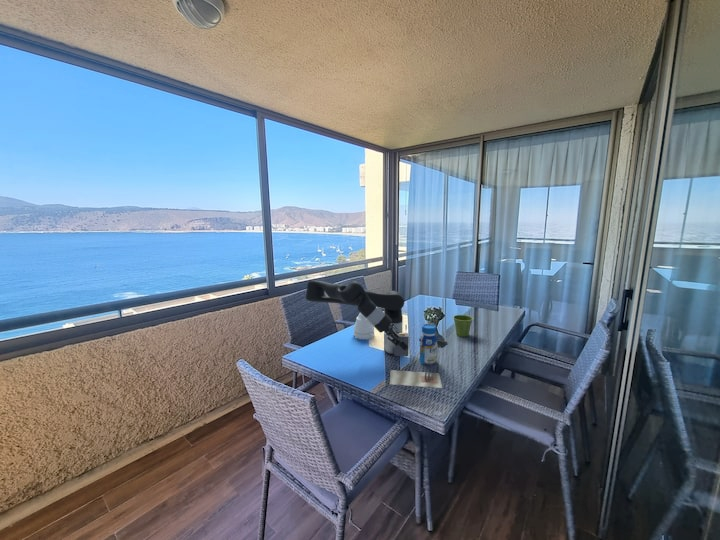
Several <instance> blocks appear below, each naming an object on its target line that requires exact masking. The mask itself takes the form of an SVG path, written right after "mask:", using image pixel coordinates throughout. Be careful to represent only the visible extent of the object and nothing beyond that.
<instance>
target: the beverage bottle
mask: <svg viewBox="0 0 720 540" xmlns="http://www.w3.org/2000/svg"><path fill="white" fill-rule="evenodd" d="M421 332H422V333H421V335H420V338H419V339H420V340H421V341H419V362H420V364H421V365H425V366H434V365H437V363H438V361H437V357H438V356H437V355H438V346H437V339H438V337H437V335H436V333H437V326H436V325H435V324H433V323H425V324H422V326H421Z"/></svg>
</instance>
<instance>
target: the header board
mask: <svg viewBox="0 0 720 540" xmlns="http://www.w3.org/2000/svg"><path fill="white" fill-rule="evenodd" d="M389 376H390V377H389V385H392V386H393V385H396V386H407V387H409V386H411V387H423V388H424V387H426V388H435V389H436V388H438V389H443V385H442V384H443V383H442V381H441V376H440V373H438V372H425V371H424V372H422V371H410V370H409V371H408V370H395V369H394V370H393V369H391V370H390V373H389Z"/></svg>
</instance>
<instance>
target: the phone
mask: <svg viewBox="0 0 720 540" xmlns="http://www.w3.org/2000/svg"><path fill="white" fill-rule="evenodd" d="M418 340H419V342H421V340H420V338H419V339H418ZM444 345H445V346H447V345H448V342H447V341H445V340H443V339H442V340H440V339H438V338H437V347H438V346H439V348H443V347H445V346H444Z"/></svg>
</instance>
